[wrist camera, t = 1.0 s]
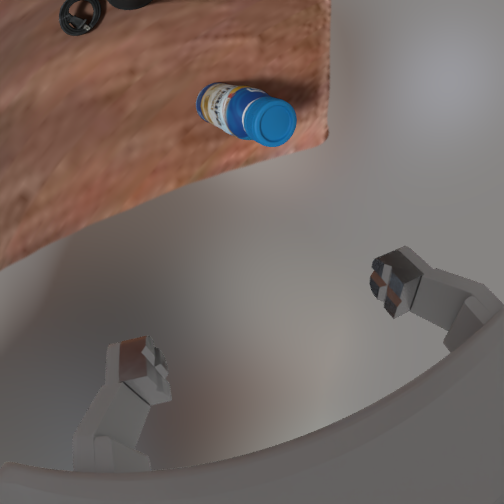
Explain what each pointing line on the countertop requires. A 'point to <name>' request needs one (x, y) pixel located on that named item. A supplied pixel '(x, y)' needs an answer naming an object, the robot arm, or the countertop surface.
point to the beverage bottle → (247, 113)
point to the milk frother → (118, 0)
